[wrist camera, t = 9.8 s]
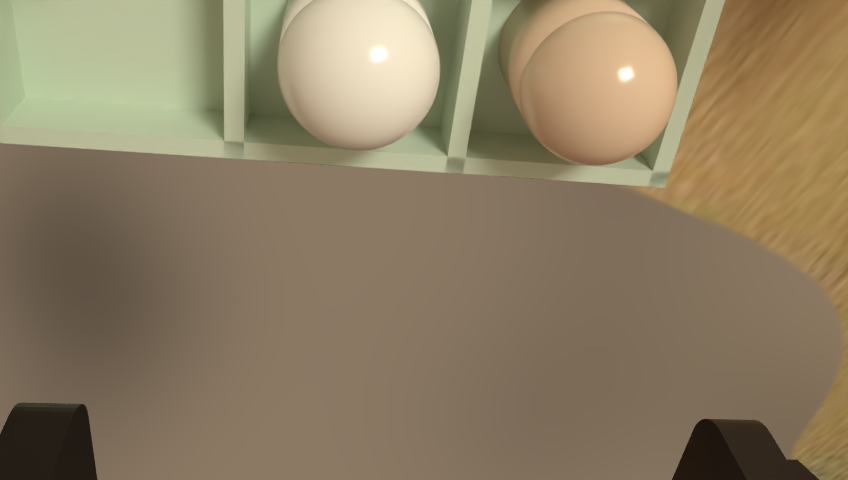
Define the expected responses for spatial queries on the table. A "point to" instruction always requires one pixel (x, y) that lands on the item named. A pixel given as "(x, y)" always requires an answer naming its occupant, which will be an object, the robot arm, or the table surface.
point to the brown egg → (588, 77)
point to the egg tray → (261, 96)
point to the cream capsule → (358, 69)
